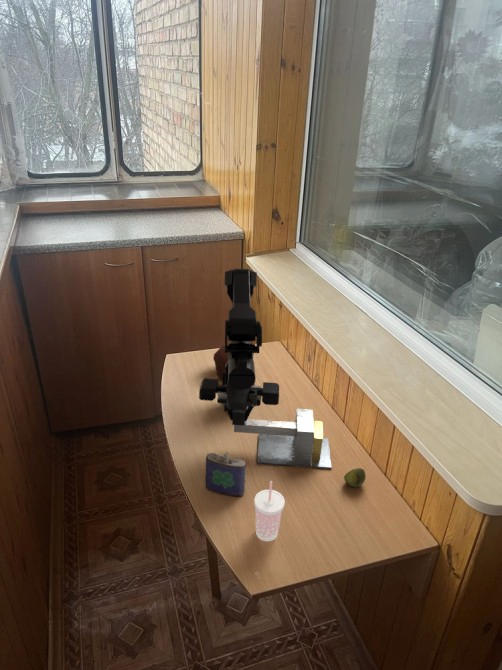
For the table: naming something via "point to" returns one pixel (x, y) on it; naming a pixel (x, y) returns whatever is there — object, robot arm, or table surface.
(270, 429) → the shaft
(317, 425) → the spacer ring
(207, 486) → the flask
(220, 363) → the muffin
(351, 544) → the table surface
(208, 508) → the table surface
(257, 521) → the beverage cup
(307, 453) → the block
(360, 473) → the lime
